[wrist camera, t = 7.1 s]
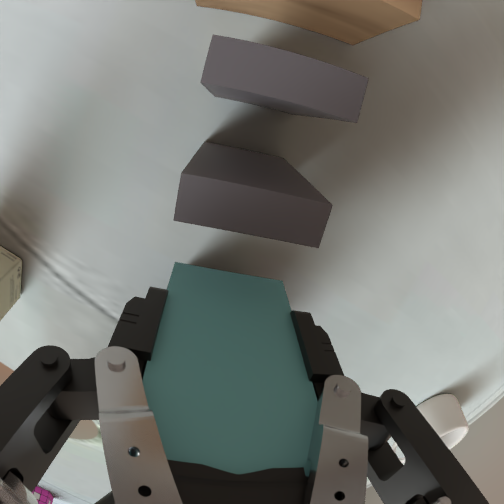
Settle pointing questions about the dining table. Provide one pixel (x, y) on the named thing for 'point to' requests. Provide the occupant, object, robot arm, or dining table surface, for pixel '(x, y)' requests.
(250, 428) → the domino
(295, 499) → the robot arm
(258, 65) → the domino
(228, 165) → the domino
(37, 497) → the puzzle toy
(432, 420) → the mug
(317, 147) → the dining table surface
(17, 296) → the box
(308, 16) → the end block
